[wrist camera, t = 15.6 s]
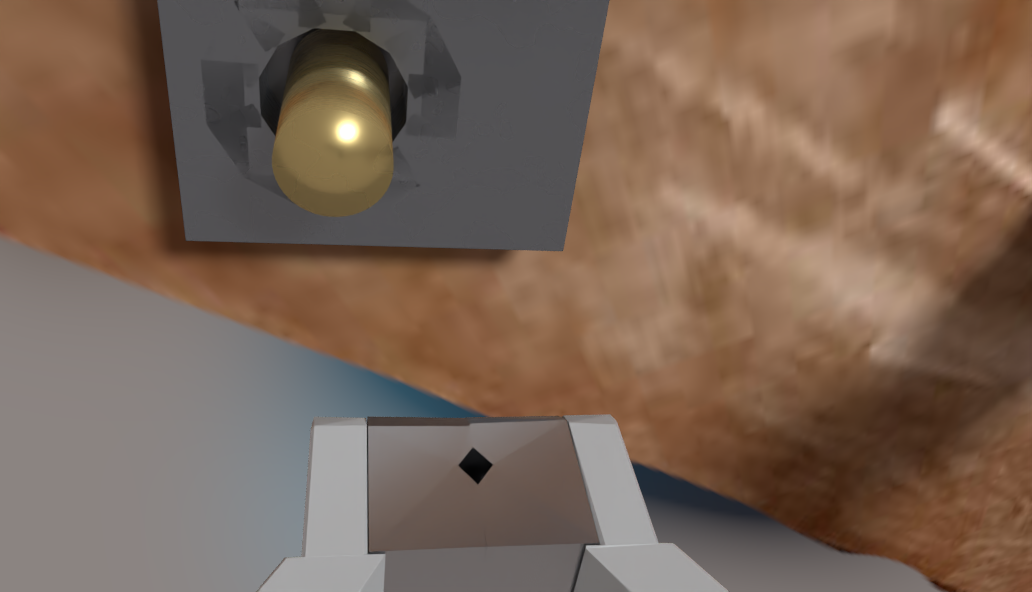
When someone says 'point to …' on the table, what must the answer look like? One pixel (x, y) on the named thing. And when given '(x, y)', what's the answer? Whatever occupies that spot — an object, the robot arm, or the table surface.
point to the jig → (414, 117)
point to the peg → (335, 125)
